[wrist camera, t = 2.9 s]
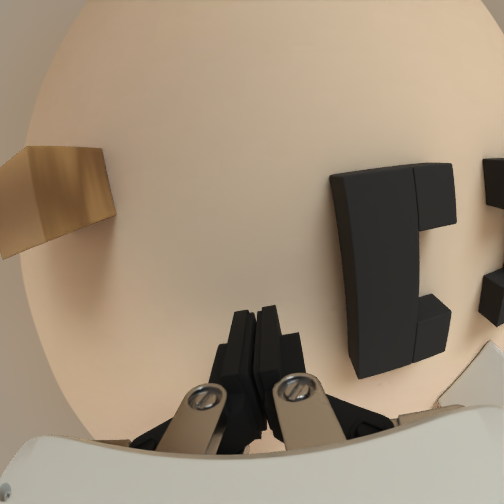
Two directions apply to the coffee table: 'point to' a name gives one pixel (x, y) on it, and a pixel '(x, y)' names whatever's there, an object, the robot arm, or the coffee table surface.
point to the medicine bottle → (479, 381)
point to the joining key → (51, 195)
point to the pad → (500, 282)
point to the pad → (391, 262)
